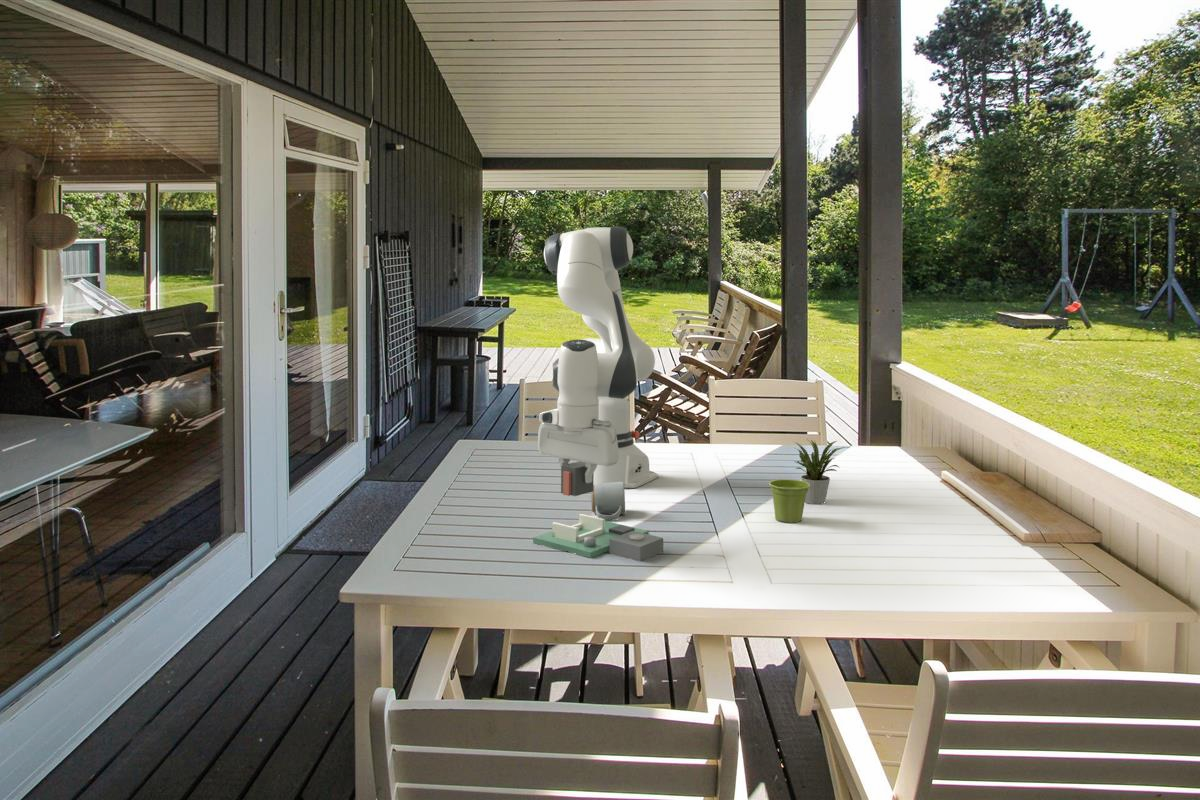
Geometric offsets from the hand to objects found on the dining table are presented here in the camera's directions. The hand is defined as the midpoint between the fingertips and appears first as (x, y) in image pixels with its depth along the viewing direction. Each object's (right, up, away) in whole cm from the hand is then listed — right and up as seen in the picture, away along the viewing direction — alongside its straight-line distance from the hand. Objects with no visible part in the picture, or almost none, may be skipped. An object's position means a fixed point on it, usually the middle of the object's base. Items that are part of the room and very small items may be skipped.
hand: (577, 480), depth 206 cm
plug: (0, -3, 0) cm, 3 cm away
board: (+3, -13, +2) cm, 14 cm away
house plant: (+60, -9, +35) cm, 70 cm away
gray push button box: (+12, -14, -6) cm, 20 cm away
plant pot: (+49, -11, +19) cm, 54 cm away
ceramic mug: (+7, -10, +22) cm, 26 cm away
